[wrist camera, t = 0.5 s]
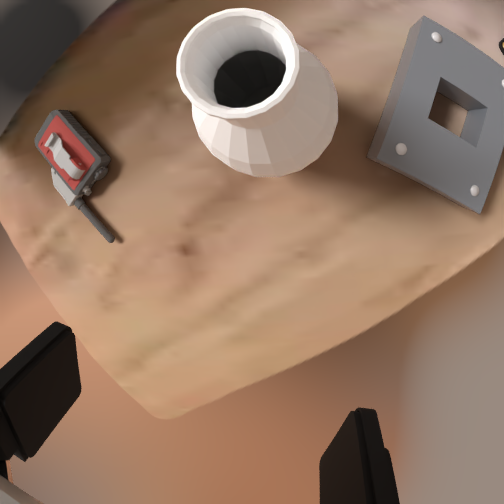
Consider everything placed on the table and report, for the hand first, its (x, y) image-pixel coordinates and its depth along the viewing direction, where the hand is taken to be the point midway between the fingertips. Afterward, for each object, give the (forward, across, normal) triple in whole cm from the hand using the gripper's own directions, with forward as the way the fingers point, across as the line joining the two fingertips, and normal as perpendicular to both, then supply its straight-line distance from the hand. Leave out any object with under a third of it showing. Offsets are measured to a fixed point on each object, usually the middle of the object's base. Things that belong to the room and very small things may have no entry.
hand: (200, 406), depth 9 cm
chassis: (+30, -17, -17) cm, 38 cm away
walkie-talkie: (+30, +25, 0) cm, 39 cm away
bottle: (+30, +2, -11) cm, 32 cm away
